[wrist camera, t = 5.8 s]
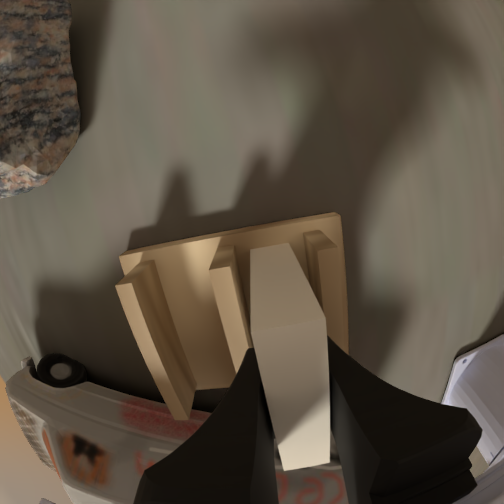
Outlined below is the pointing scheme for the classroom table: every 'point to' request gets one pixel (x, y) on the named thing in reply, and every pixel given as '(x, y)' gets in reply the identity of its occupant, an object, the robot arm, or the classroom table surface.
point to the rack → (220, 300)
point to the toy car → (125, 437)
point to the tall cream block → (291, 355)
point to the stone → (35, 93)
